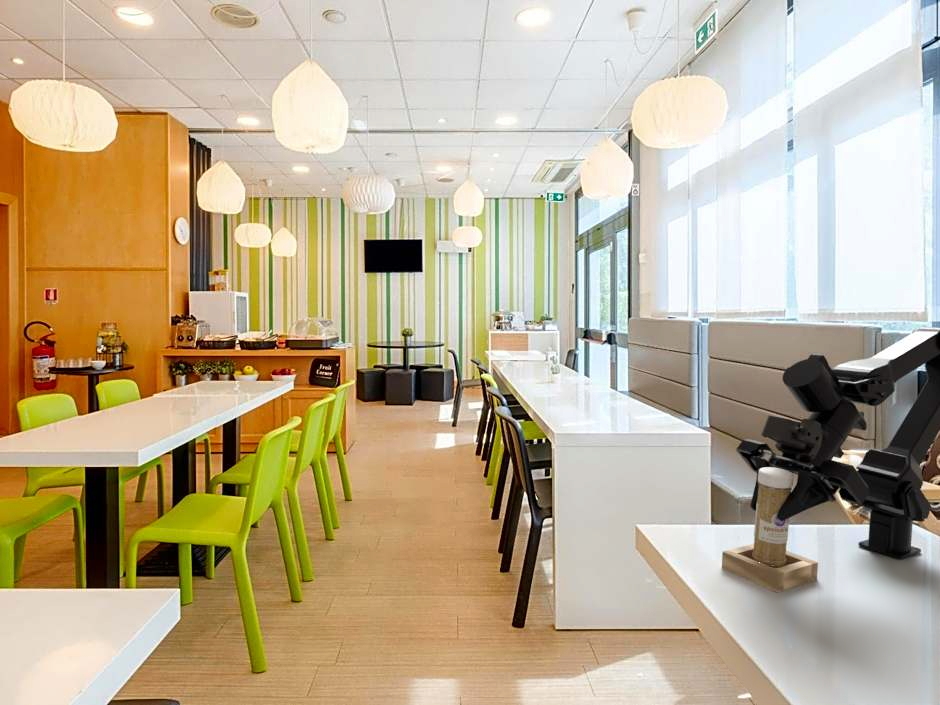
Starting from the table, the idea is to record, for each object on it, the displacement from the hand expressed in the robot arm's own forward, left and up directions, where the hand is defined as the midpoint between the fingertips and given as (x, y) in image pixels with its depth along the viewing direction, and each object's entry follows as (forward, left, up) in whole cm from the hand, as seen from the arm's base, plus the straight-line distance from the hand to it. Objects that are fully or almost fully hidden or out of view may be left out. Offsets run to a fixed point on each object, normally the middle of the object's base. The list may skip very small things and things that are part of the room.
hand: (765, 513), depth 91 cm
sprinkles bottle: (-1, 0, -7) cm, 8 cm away
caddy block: (-1, 0, -9) cm, 9 cm away
